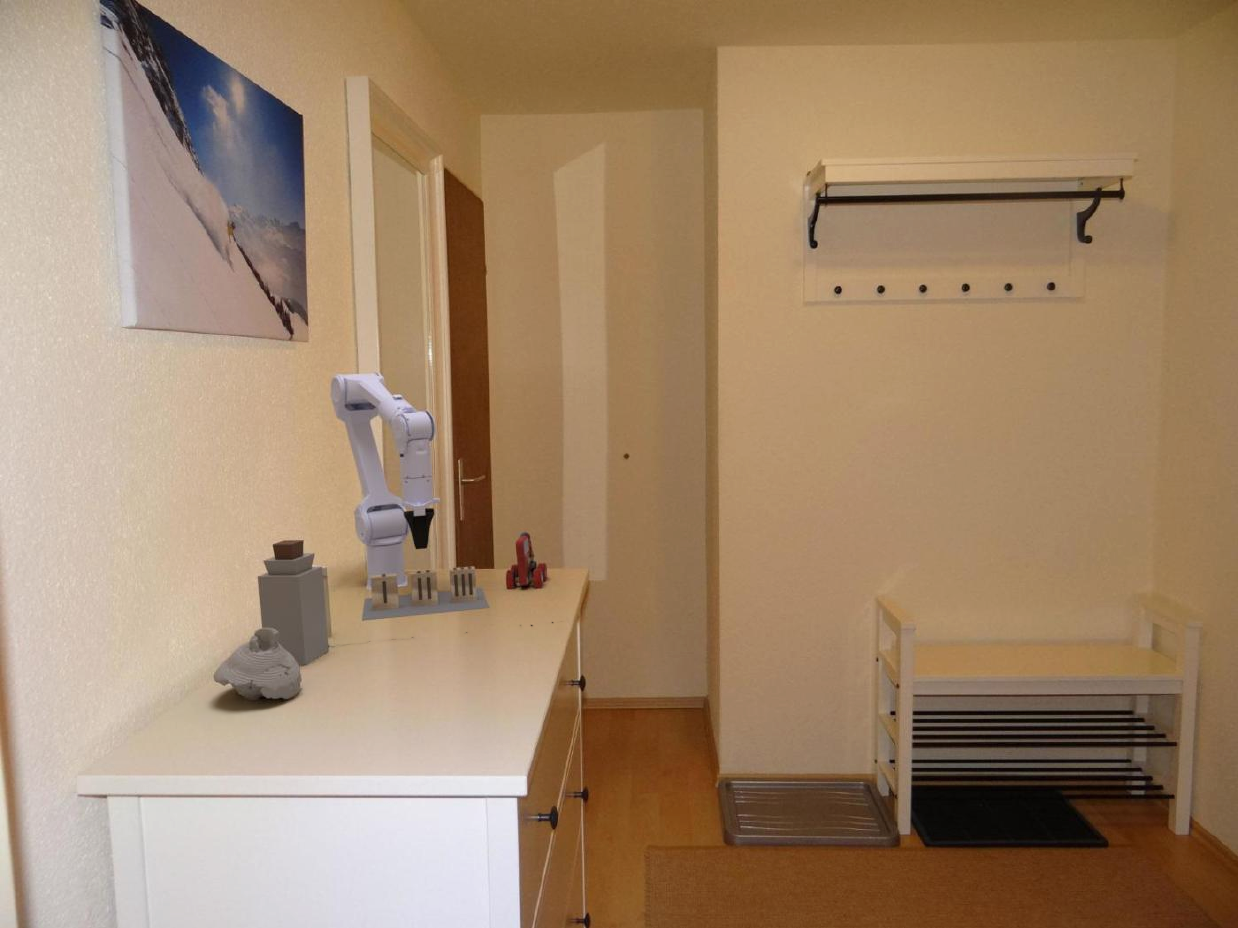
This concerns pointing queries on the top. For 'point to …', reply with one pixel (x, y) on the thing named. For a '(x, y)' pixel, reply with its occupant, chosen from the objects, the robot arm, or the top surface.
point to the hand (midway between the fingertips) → (421, 548)
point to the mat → (409, 610)
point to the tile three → (463, 584)
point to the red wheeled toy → (525, 566)
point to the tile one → (384, 591)
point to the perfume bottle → (294, 601)
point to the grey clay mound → (261, 668)
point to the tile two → (424, 588)
